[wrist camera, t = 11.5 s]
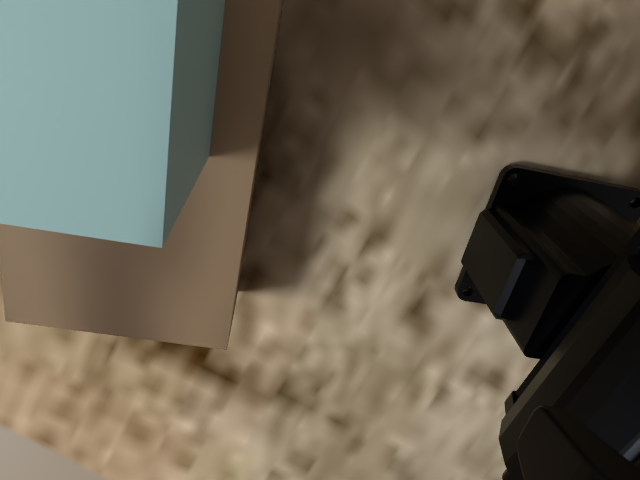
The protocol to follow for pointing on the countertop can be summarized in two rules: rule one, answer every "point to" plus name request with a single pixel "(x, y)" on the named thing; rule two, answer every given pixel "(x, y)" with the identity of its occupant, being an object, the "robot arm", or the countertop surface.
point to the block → (105, 113)
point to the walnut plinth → (185, 237)
